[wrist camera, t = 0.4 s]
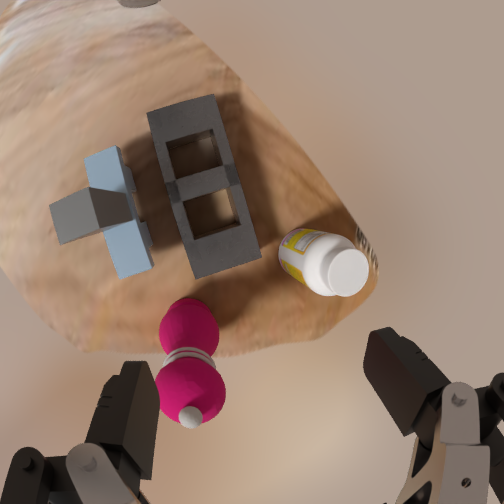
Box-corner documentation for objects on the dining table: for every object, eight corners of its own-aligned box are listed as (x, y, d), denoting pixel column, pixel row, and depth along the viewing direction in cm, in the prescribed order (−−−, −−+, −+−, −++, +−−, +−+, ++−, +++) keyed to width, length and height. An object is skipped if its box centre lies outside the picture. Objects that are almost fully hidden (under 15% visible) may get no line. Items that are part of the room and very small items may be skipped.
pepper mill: (198, 284, 35) (205, 370, 16) (226, 327, 37) (258, 431, 18) (152, 310, 35) (120, 410, 15) (181, 351, 36) (181, 463, 17)
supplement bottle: (317, 278, 39) (367, 308, 26) (272, 273, 37) (311, 305, 25) (326, 231, 38) (382, 244, 25) (282, 223, 36) (326, 232, 24)
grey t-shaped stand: (99, 165, 30) (34, 138, 14) (127, 154, 31) (77, 115, 15) (130, 268, 33) (84, 317, 17) (158, 259, 34) (130, 302, 18)
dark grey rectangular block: (151, 122, 31) (146, 112, 27) (211, 105, 32) (213, 93, 28) (195, 271, 35) (195, 279, 31) (254, 251, 36) (262, 257, 32)
